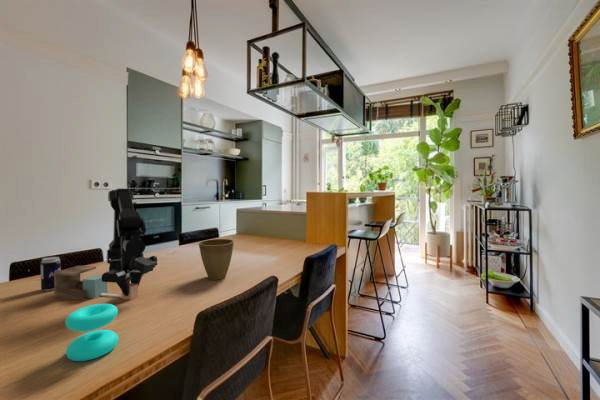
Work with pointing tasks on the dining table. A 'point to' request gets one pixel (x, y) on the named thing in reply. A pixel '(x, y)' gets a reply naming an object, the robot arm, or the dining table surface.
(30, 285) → the dining table surface
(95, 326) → the donuts
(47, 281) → the beverage can
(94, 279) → the tethered block
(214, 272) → the plant pot
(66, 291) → the shelf lane
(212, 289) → the dining table surface
